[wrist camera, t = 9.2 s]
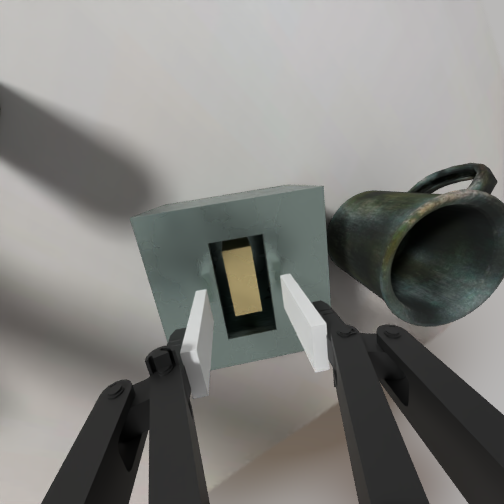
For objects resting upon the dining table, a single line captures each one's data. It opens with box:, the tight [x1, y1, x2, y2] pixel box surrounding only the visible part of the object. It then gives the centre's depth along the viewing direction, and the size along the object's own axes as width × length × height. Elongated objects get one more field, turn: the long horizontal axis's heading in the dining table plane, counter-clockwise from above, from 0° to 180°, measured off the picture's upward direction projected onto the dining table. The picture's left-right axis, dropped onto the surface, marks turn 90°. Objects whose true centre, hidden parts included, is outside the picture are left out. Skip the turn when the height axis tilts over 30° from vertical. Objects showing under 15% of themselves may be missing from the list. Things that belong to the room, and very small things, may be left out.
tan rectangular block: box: [222, 237, 262, 316], centre depth 24 cm, size 2×6×8 cm, turn 9°
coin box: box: [130, 185, 331, 370], centre depth 24 cm, size 14×14×10 cm
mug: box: [327, 163, 504, 327], centre depth 24 cm, size 11×15×12 cm
